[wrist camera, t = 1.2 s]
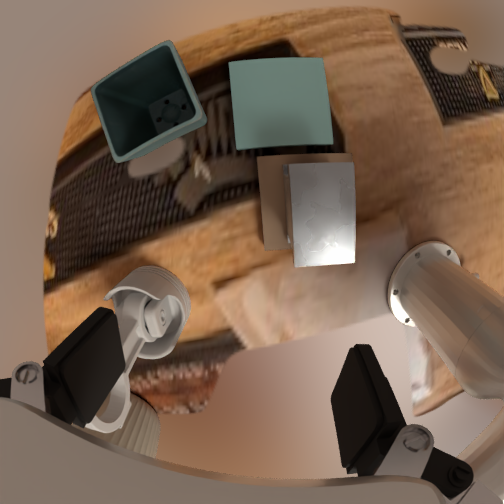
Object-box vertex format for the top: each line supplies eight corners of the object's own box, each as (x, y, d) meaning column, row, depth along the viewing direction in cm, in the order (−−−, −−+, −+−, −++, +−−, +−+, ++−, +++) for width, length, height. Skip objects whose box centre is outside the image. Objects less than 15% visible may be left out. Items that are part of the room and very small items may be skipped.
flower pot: (222, 130, 28) (204, 117, 19) (153, 163, 29) (114, 165, 21) (194, 67, 25) (169, 37, 17) (130, 102, 27) (89, 87, 18)
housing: (282, 164, 27) (288, 164, 19) (330, 162, 26) (353, 162, 19) (287, 240, 29) (294, 267, 21) (332, 237, 29) (354, 262, 21)
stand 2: (346, 153, 28) (352, 153, 26) (349, 239, 31) (354, 244, 29) (257, 157, 28) (256, 156, 27) (264, 245, 31) (264, 250, 30)
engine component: (183, 262, 33) (115, 267, 33) (97, 377, 13) (13, 355, 14) (198, 336, 36) (136, 335, 37) (153, 463, 17) (70, 438, 17)
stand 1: (319, 63, 24) (322, 57, 23) (329, 145, 28) (333, 143, 26) (230, 68, 25) (228, 62, 23) (238, 150, 28) (236, 149, 26)
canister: (186, 437, 45) (164, 521, 25) (116, 427, 47) (84, 495, 26) (153, 377, 39) (107, 480, 19) (78, 370, 41) (25, 443, 21)
